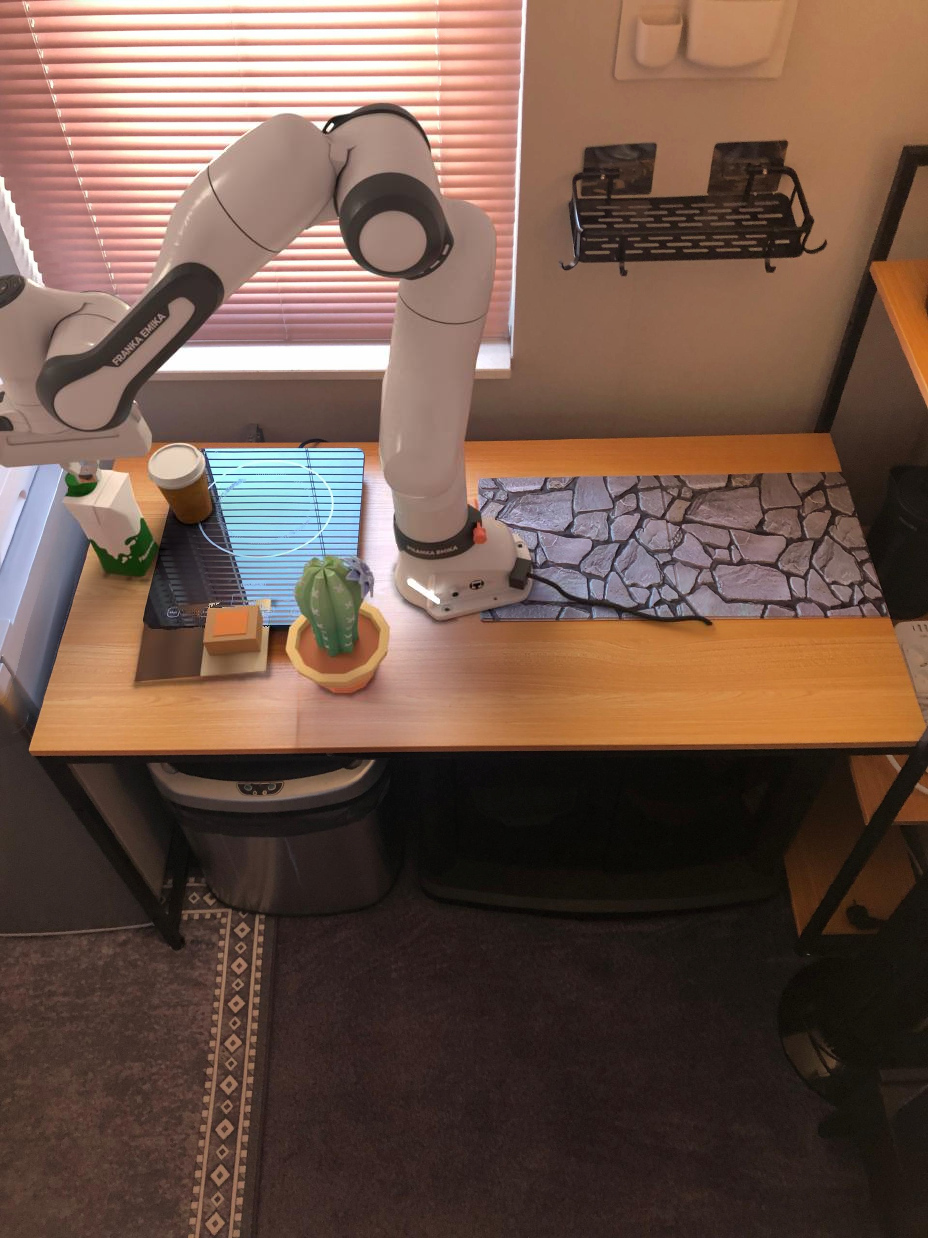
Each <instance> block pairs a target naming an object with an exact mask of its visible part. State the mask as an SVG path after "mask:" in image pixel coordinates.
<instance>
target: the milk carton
mask: <svg viewBox="0 0 928 1238" xmlns="http://www.w3.org/2000/svg"><path fill="white" fill-rule="evenodd" d="M100 470H101V473H102V477H101V481H100V482H89V483H78V481H77V479H76V478H75V476H74V475H72V474H70V473H69V472H67V473H66V474H65V476H64V482H65V484H66V486H67V492H66V493H65V495H64V498H63V499H62V501H61V504H63V506H64V507H65V508H66V509H67V510H68V511H69V512H70V513H71V514H72V516H73V517H74V519H76V520H77V522H78V523H79V525H80V526H81V529H82V531H83V532H84V534H85V536H86V538H87V540H88V541H89V543H90V545H91V547H92V549H93V550H94V552H95V554H96V556H97V558H98V560H99V563H100V565H101V567H102V570H103V572H105V573H107V574H114V575H121V576H129V577H137V578H142V577H144V576H146V575H147V572H148V570H149V569H150V566H151V564H152V563H153V561H154V558H155V557H156V555H157V554H158V551H159V549H160V546H159V544H158V542H157V540H156V539H155V537H154V536H153V534H152V532H151V530H150V529H149V526H148V524H147V521H146V519H145V517H144V516H143V515H144V514H142V510H141V509H140V507H139V505H138V503H137V500H136V498H135V494H134V489H133V485H132V482H131V478H130V474H129V472H122V471H115V470H112V469H101V468H100Z"/></svg>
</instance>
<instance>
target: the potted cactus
mask: <svg viewBox="0 0 928 1238" xmlns="http://www.w3.org/2000/svg"><path fill="white" fill-rule="evenodd" d="M344 563H345V564H347V565H348V566H347V565H345V564H344ZM302 572H303V574H302V575H301V576H300V578H299V579H298V580H297V581H296V583H295V586H294V589H293V596H294V599H295V601H296V604H297V607H298V609H299V611H300V615H299V616H298V617H297V618H296V619H295V621H294V622H293V623H291V625H290V626H289V627H288V628H289V629H288V634H287V639H286V645H285V651H286V654H287V656H288V658H289V660H290V661H291V663H292V665H293V667H294V669H295V671H296V672H297V673H298V675H301V676H302V677H304V678H306V679H307V680H309V681H312V682H313V683H315V684H317V685H319V686H322V687H323V688H325V689H327V690H329V691H331V692H332V693H334V694H352V693H354V692H357V691H359V690H361V689H362V688H364V687H366V686H367V685H368V683H369V682H370V681H371V679H372V678H373V677H374V676H375V671H376V669H378V667H379V666H380V665H381V663H382V662H383V661H384V660H385V658H386V657H387V656H388V652H389V639H390V630H391V627H390V625H389V623H388V622H387V620H386V618H385V617H384V616H383V614H382V612H381V610H380V609H379V608H378V607H376V606H374V605H371V604H369V603H368V602H365V601H364V599H365V598H366V597H367V595H368V594H369V592H370V598H371V599H372V598H374V586H375V577H374V574H373V571H372V570H371V568H370V566H369V565H368V564H367V563H366V562H365V561H364V560H363V559H362V558H359V557H358V556H354V555H350V557H349V556H341V557H338V556H335V555H331V554H325V555H324V556H323V557H322V561H321V560H320V558H318V557H315V556H314V557H313V558H311V559H310V560H308V561H307V562H306V563H305V564H304V566H303V571H302Z"/></svg>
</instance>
